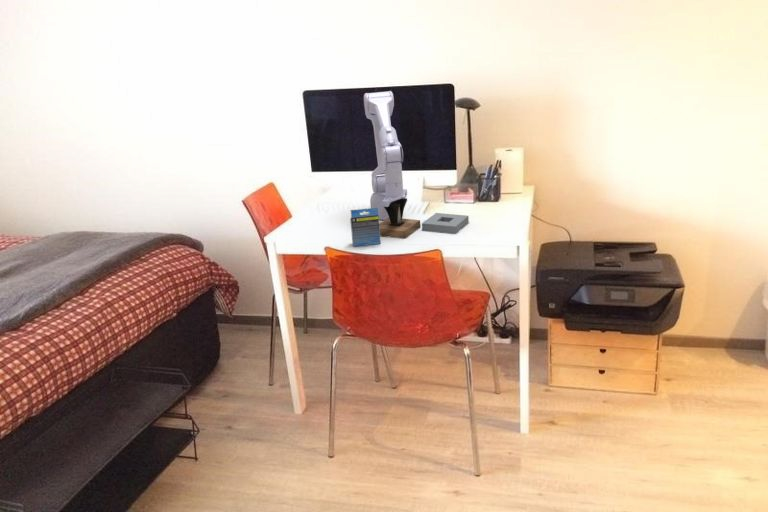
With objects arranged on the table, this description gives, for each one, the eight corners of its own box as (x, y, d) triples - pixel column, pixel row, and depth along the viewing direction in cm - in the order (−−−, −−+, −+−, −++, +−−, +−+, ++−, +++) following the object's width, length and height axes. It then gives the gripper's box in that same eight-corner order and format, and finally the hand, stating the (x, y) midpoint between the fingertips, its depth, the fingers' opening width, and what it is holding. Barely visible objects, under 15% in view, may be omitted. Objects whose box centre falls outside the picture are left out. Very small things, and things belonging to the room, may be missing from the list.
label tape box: (379, 240, 198) (376, 203, 194) (380, 244, 194) (378, 207, 190) (352, 243, 197) (348, 206, 193) (353, 247, 193) (350, 210, 189)
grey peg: (391, 232, 205) (389, 206, 202) (395, 229, 207) (393, 203, 204) (399, 232, 203) (397, 207, 200) (402, 230, 206) (401, 204, 203)
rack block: (422, 230, 204) (421, 223, 203) (436, 219, 214) (436, 212, 213) (455, 233, 199) (455, 226, 198) (468, 222, 208) (468, 215, 208)
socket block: (373, 234, 203) (372, 227, 202) (389, 223, 213) (389, 217, 212) (405, 238, 198) (404, 231, 197) (420, 227, 208) (420, 220, 207)
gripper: (394, 188, 192) (397, 229, 196) (414, 177, 203) (416, 215, 208) (375, 187, 195) (378, 227, 200) (395, 176, 207) (397, 214, 211)
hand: (396, 221), depth 204 cm, fingers closed on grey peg, 3 cm apart
